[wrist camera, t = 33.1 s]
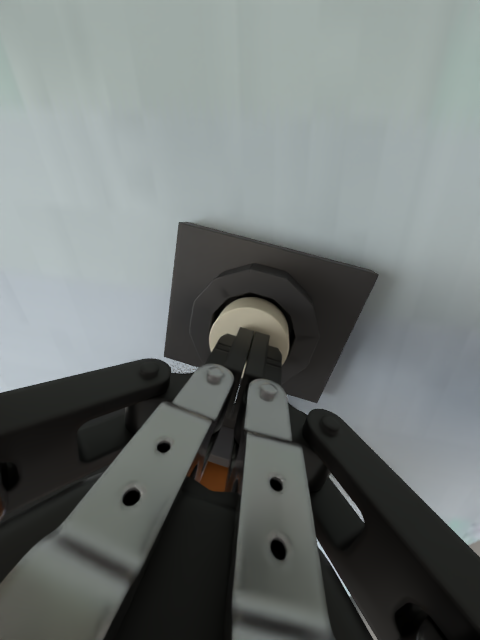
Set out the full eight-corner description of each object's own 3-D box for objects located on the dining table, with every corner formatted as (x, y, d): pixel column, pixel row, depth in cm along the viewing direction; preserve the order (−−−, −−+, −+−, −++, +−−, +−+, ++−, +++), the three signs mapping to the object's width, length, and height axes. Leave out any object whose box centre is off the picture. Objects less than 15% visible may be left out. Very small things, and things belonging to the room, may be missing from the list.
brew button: (298, 308, 12) (300, 321, 11) (276, 369, 14) (275, 388, 12) (225, 287, 13) (216, 297, 11) (212, 350, 14) (202, 366, 13)
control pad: (371, 270, 13) (394, 282, 11) (315, 391, 17) (320, 424, 14) (186, 221, 14) (162, 222, 11) (170, 348, 18) (150, 371, 15)
